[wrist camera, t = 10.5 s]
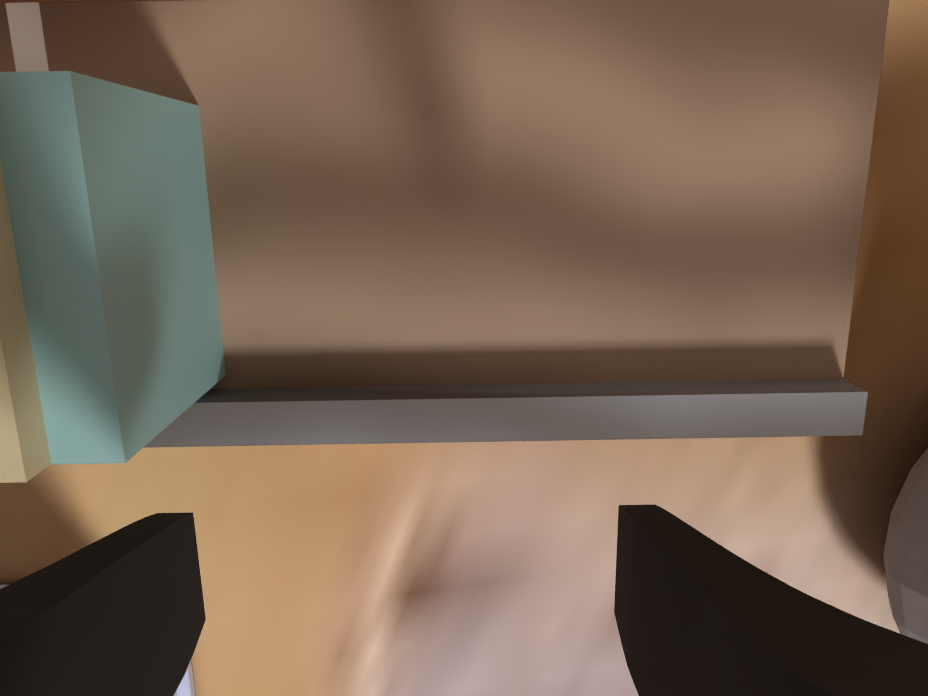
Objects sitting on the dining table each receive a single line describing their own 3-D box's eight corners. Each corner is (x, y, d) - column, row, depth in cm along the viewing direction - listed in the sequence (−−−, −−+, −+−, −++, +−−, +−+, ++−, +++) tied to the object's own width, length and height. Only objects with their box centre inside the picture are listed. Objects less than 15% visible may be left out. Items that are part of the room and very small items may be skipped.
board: (811, 403, 21) (862, 435, 18) (46, 415, 21) (-13, 450, 18) (856, 5, 18) (922, -23, 16) (-21, 17, 18) (-100, -10, 16)
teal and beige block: (225, 375, 19) (104, 480, 13) (79, 377, 19) (-120, 484, 12) (199, 105, 17) (42, 63, 11) (37, 107, 17) (-218, 66, 11)
